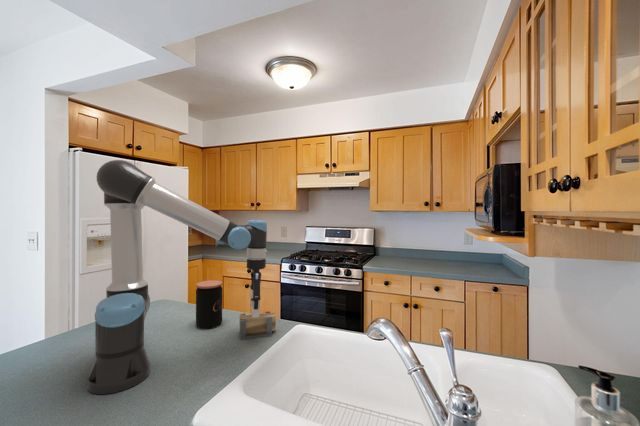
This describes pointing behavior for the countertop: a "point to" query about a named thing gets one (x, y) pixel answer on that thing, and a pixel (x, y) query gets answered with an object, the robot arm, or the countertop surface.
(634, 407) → the countertop surface
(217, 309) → the coffee jar
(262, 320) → the block
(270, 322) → the bracket
